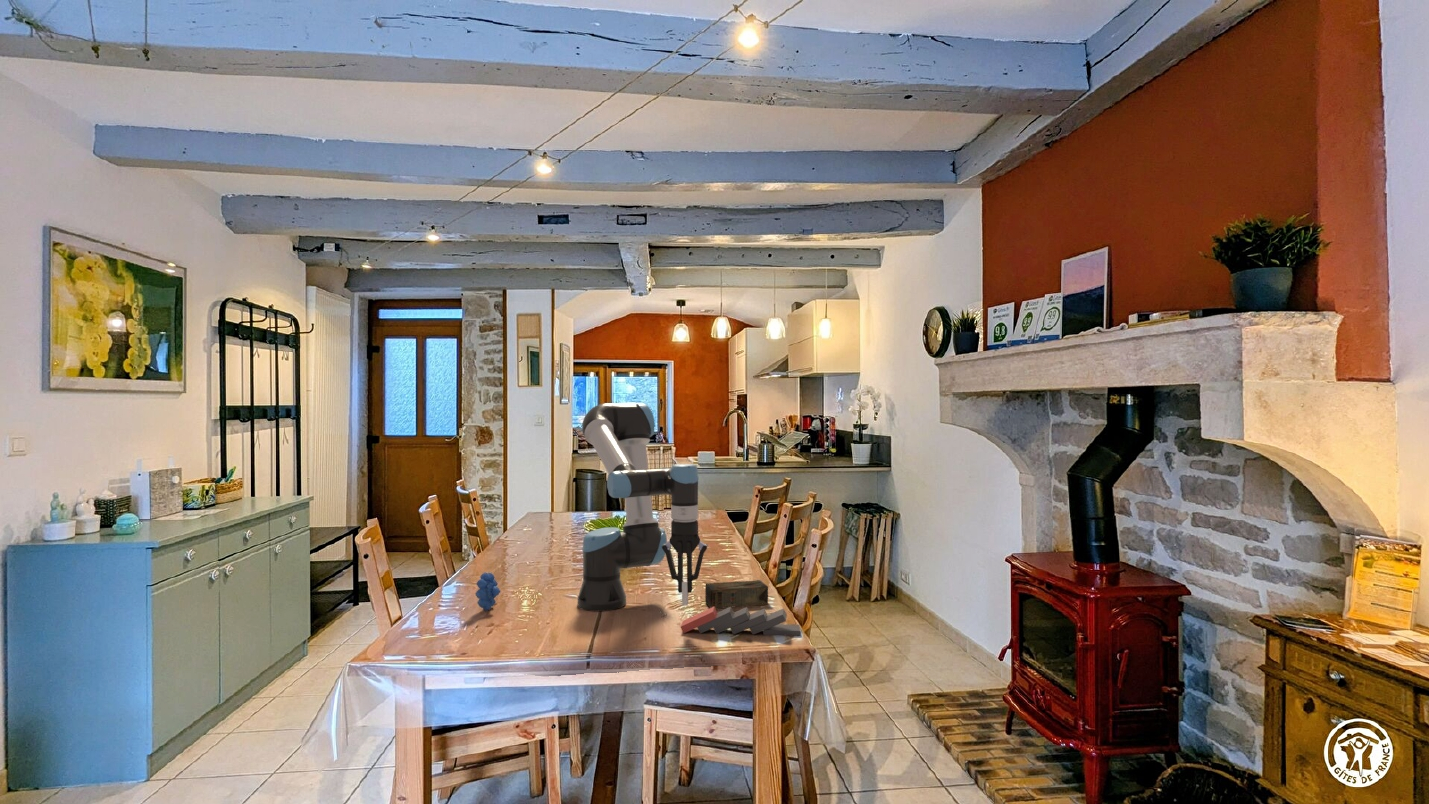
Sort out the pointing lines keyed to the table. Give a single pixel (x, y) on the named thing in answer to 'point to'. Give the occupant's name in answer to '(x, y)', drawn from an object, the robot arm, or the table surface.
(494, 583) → the grapes
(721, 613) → the domino
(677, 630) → the table surface
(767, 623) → the domino
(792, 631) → the domino
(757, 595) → the beverage carton
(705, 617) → the domino red
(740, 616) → the domino
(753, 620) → the domino
